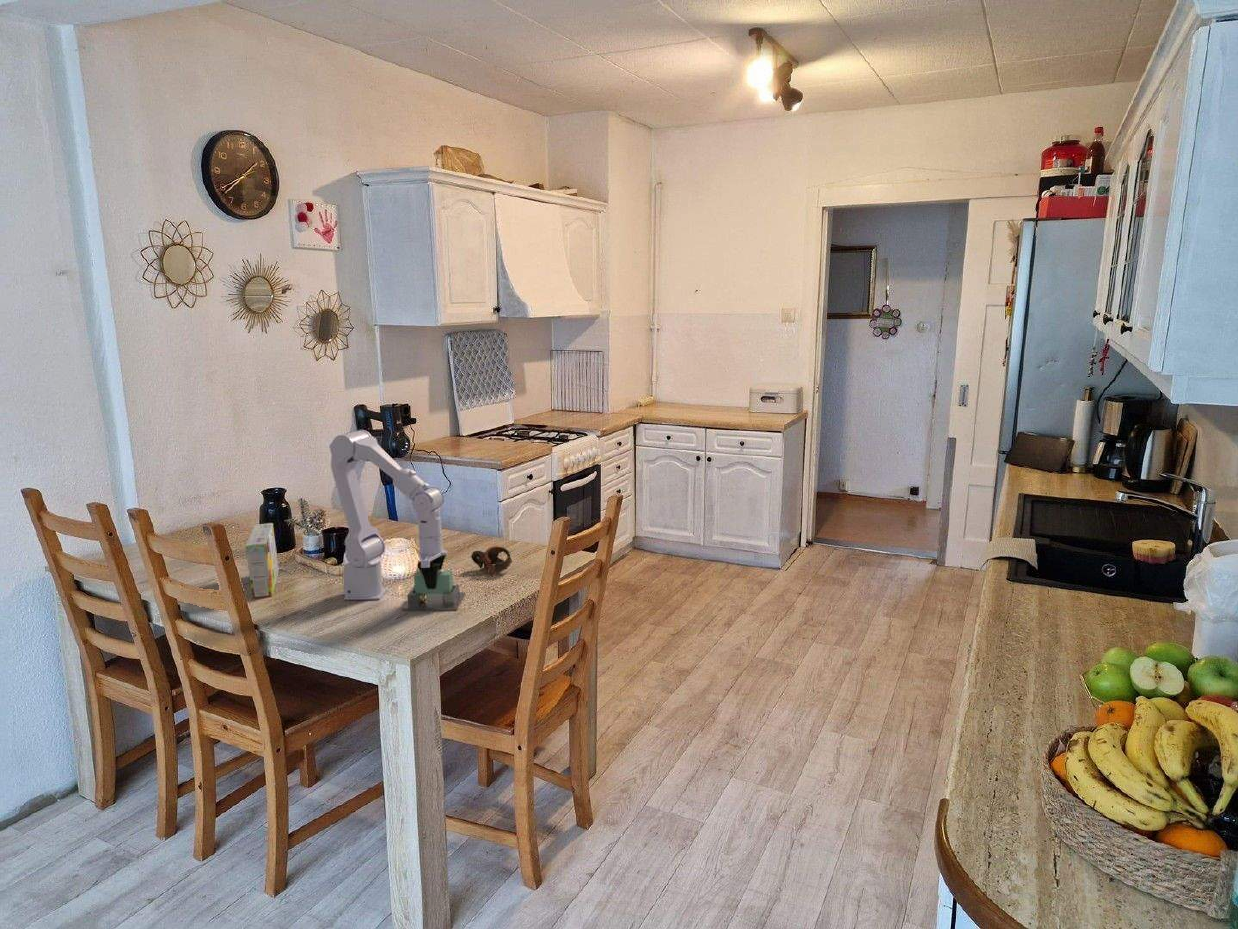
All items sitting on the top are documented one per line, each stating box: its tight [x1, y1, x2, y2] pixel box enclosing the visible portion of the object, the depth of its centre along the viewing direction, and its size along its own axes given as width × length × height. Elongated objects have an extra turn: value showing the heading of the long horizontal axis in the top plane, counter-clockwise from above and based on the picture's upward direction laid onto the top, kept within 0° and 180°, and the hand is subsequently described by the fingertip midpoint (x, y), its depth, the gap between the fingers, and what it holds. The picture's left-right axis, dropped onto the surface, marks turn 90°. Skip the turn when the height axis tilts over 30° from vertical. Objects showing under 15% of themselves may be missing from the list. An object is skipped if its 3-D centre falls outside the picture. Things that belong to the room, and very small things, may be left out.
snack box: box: [245, 522, 280, 599], centre depth 223 cm, size 21×6×15 cm, turn 18°
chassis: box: [401, 584, 466, 612], centre depth 209 cm, size 14×11×4 cm
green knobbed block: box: [413, 568, 454, 594], centre depth 208 cm, size 9×4×6 cm, turn 90°
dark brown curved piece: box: [470, 545, 513, 577], centre depth 233 cm, size 12×10×8 cm
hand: (433, 585), depth 209 cm, fingers closed on green knobbed block, 4 cm apart
